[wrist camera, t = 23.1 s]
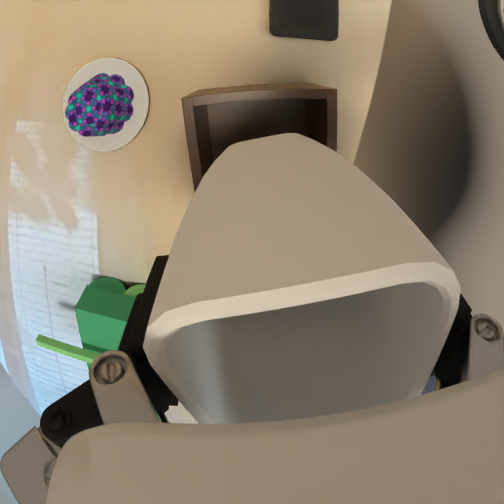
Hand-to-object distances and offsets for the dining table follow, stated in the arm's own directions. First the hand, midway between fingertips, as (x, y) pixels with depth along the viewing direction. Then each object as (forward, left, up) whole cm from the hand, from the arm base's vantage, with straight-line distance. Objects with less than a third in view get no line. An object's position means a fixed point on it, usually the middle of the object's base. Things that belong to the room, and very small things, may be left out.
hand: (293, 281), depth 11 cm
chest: (0, +2, -27) cm, 27 cm away
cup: (0, 0, -11) cm, 11 cm away
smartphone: (-6, -18, -27) cm, 33 cm away
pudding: (+18, -6, -27) cm, 33 cm away
